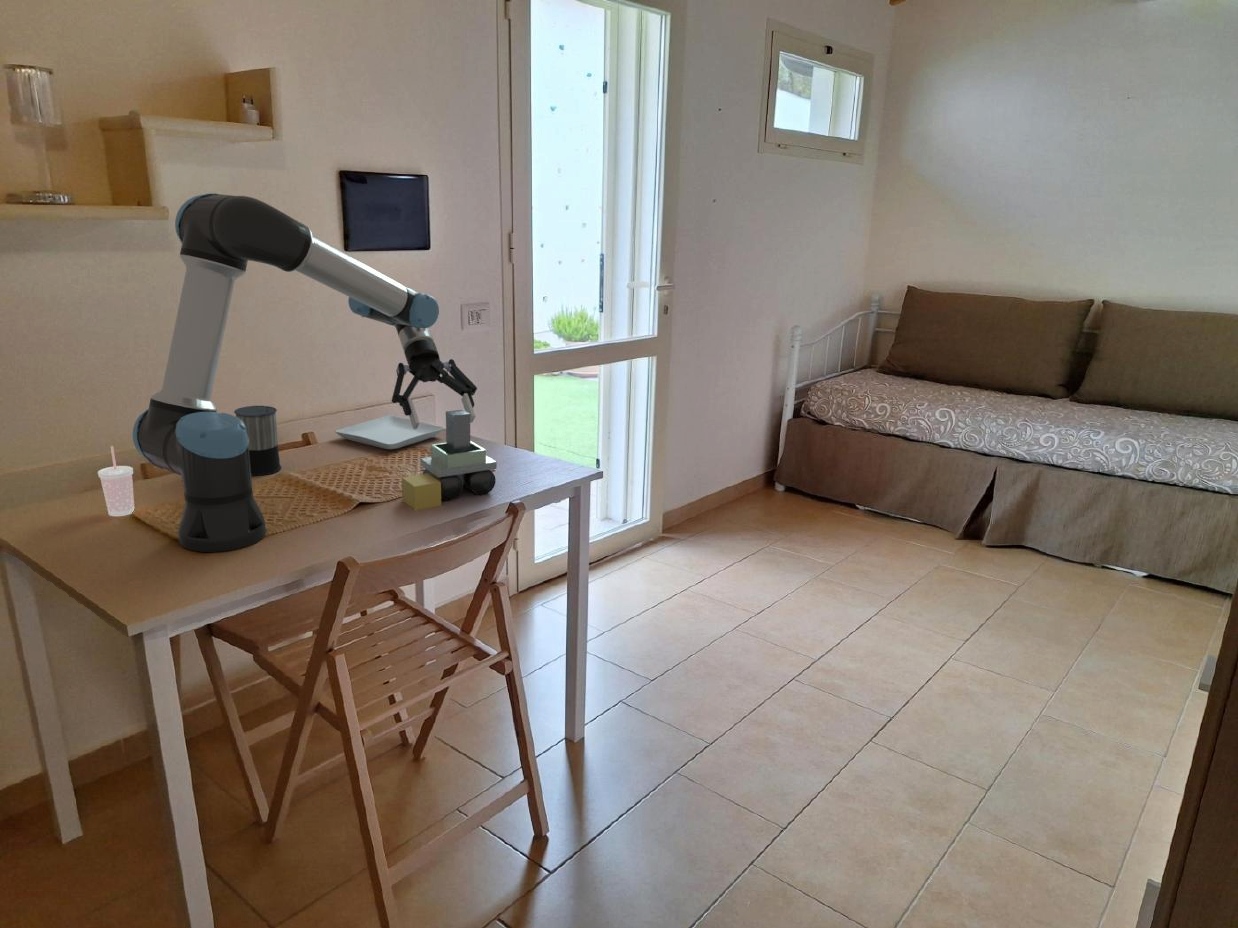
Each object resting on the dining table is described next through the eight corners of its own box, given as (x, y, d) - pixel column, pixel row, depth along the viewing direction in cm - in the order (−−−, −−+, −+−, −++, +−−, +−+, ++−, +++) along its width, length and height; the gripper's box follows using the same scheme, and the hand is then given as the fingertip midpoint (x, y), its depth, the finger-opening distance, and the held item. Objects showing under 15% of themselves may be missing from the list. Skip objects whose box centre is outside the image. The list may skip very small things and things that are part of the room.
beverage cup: (101, 510, 168) (91, 444, 164) (135, 504, 172) (126, 440, 168) (107, 519, 164) (96, 452, 160) (141, 513, 168) (132, 447, 163)
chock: (415, 510, 176) (414, 486, 174) (402, 500, 182) (401, 477, 180) (441, 506, 180) (440, 482, 178) (428, 496, 185) (427, 473, 183)
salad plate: (390, 456, 213) (390, 443, 212) (333, 441, 223) (332, 429, 222) (446, 438, 230) (446, 426, 229) (391, 425, 240) (390, 414, 239)
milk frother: (290, 469, 198) (285, 409, 194) (231, 486, 185) (225, 422, 181) (251, 458, 205) (245, 400, 201) (192, 474, 192) (185, 412, 187)
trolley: (438, 503, 181) (437, 457, 177) (421, 489, 188) (420, 445, 185) (496, 493, 188) (496, 449, 185) (477, 480, 196) (477, 438, 193)
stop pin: (454, 463, 183) (453, 415, 180) (446, 458, 186) (445, 411, 183) (470, 461, 186) (470, 413, 182) (462, 456, 189) (462, 409, 185)
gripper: (370, 340, 187) (395, 420, 180) (472, 335, 200) (499, 408, 193) (364, 359, 193) (388, 437, 185) (463, 353, 206) (489, 425, 199)
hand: (445, 423), depth 189 cm, fingers open, 13 cm apart
